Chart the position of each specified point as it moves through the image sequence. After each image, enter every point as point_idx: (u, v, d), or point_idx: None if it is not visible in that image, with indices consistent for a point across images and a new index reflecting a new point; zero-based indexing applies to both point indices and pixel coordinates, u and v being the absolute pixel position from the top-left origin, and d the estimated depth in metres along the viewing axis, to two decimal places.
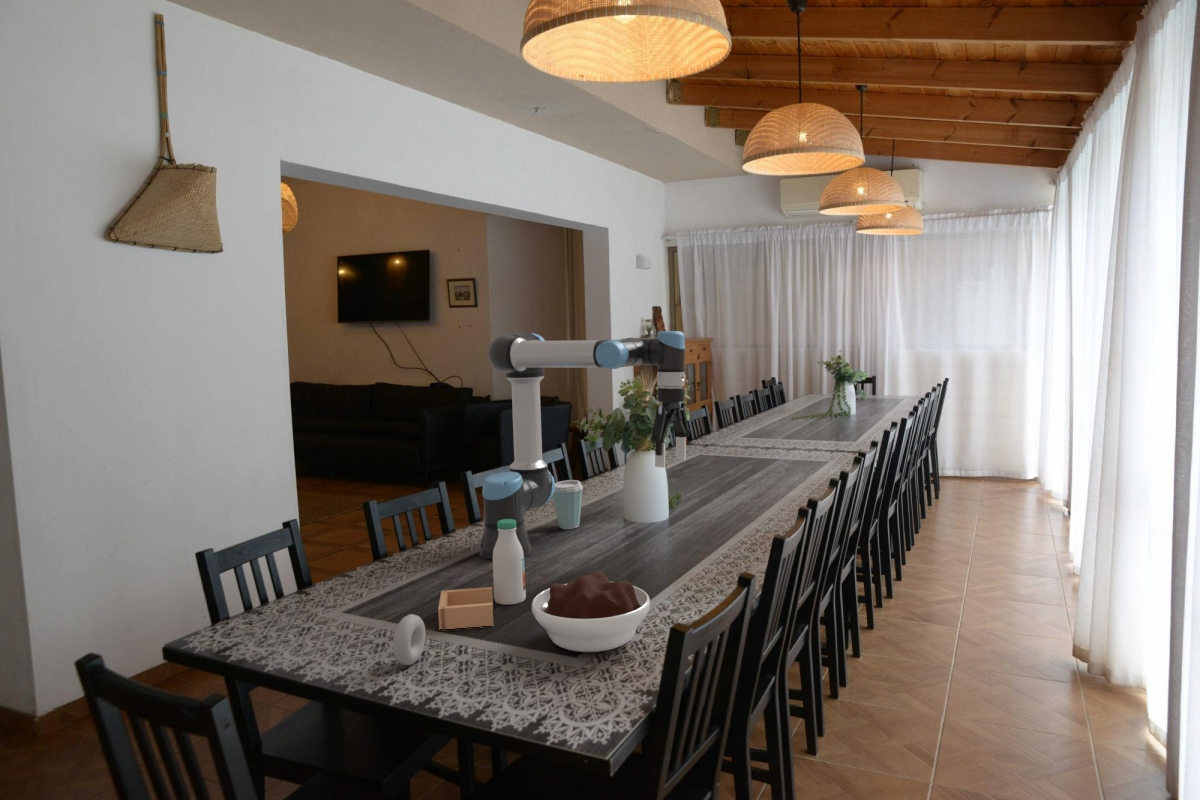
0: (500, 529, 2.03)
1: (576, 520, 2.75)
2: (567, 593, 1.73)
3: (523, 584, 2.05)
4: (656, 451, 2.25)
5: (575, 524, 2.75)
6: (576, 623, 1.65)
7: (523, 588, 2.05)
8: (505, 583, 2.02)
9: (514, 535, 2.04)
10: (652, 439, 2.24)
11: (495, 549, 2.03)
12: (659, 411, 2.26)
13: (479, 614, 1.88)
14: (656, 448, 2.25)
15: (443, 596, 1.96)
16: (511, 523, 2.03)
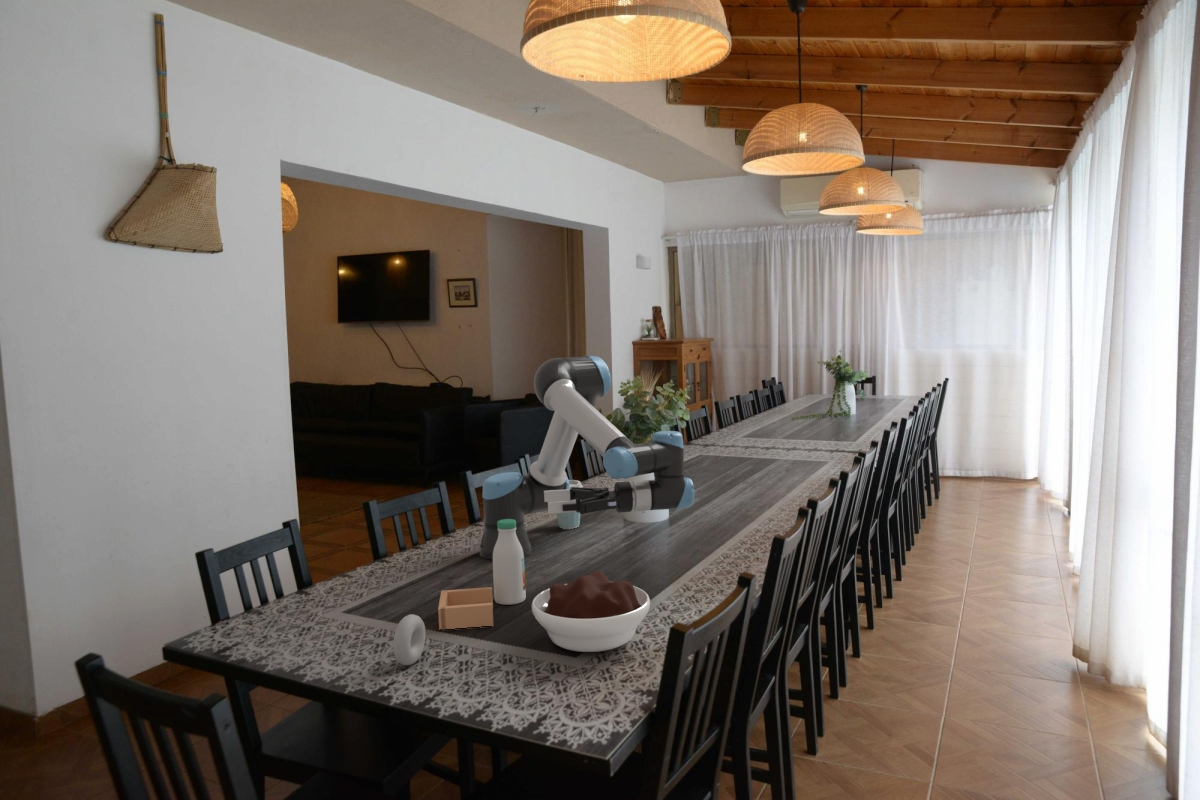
0: (500, 529, 2.03)
1: (576, 520, 2.75)
2: (567, 593, 1.73)
3: (523, 584, 2.05)
4: (567, 506, 1.98)
5: (575, 524, 2.75)
6: (576, 623, 1.65)
7: (523, 588, 2.05)
8: (505, 583, 2.02)
9: (514, 535, 2.04)
10: (582, 505, 1.96)
11: (495, 549, 2.03)
12: (611, 503, 2.01)
13: (479, 614, 1.88)
14: (570, 506, 1.98)
15: (443, 596, 1.96)
16: (511, 523, 2.03)
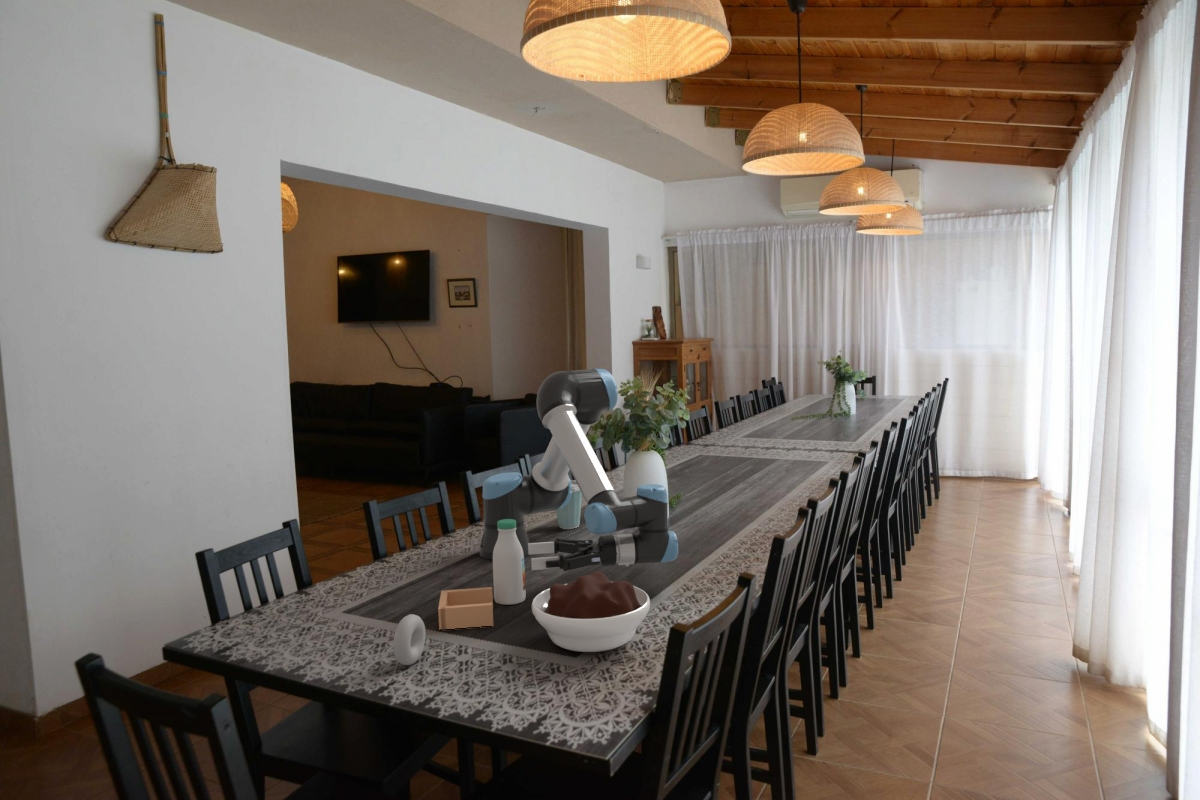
0: (500, 529, 2.03)
1: (576, 520, 2.75)
2: (567, 593, 1.73)
3: (523, 584, 2.05)
4: (550, 563, 1.98)
5: (575, 524, 2.75)
6: (576, 623, 1.65)
7: (523, 588, 2.05)
8: (505, 583, 2.02)
9: (514, 535, 2.04)
10: (565, 562, 1.97)
11: (495, 549, 2.03)
12: (594, 558, 2.01)
13: (479, 614, 1.88)
14: (554, 562, 1.98)
15: (443, 596, 1.96)
16: (511, 523, 2.03)
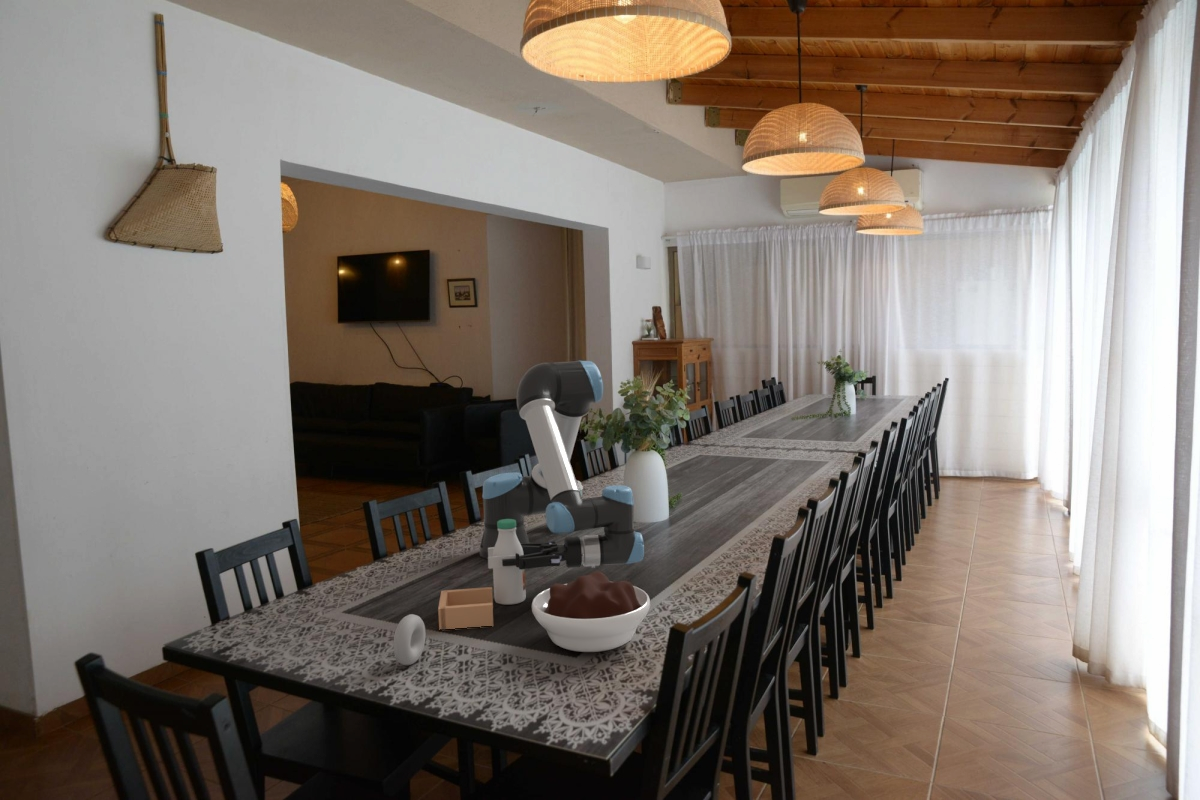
0: (500, 529, 2.03)
1: None
2: (567, 593, 1.73)
3: (523, 584, 2.05)
4: (506, 561, 2.00)
5: None
6: (576, 623, 1.65)
7: (523, 588, 2.05)
8: (505, 583, 2.02)
9: (514, 535, 2.04)
10: (521, 561, 1.98)
11: (495, 549, 2.03)
12: (553, 560, 2.00)
13: (479, 614, 1.88)
14: (510, 561, 2.00)
15: (443, 596, 1.96)
16: (511, 523, 2.03)
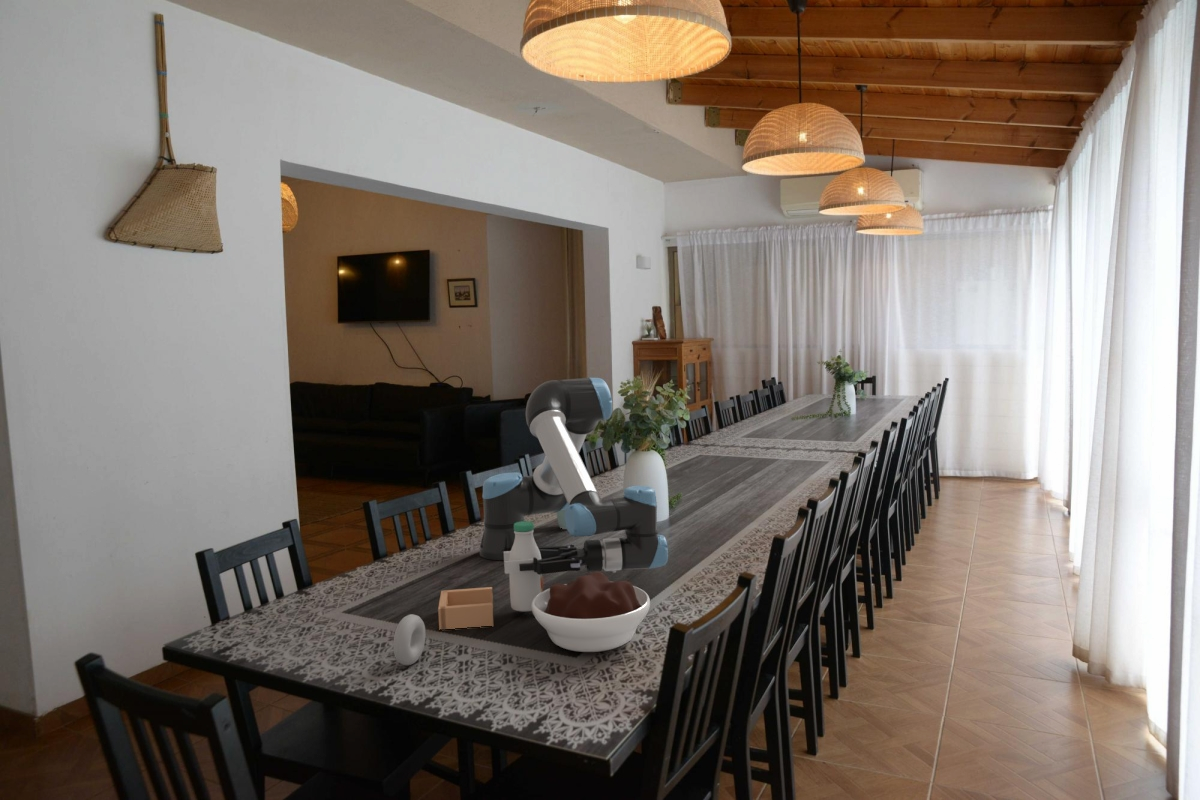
0: (517, 532, 1.93)
1: None
2: (567, 593, 1.73)
3: (541, 590, 1.94)
4: (524, 566, 1.90)
5: None
6: (576, 623, 1.65)
7: None
8: (522, 588, 1.92)
9: (531, 538, 1.94)
10: (539, 565, 1.88)
11: (511, 553, 1.93)
12: (573, 564, 1.90)
13: (479, 614, 1.88)
14: (527, 566, 1.90)
15: (443, 596, 1.96)
16: (528, 525, 1.93)
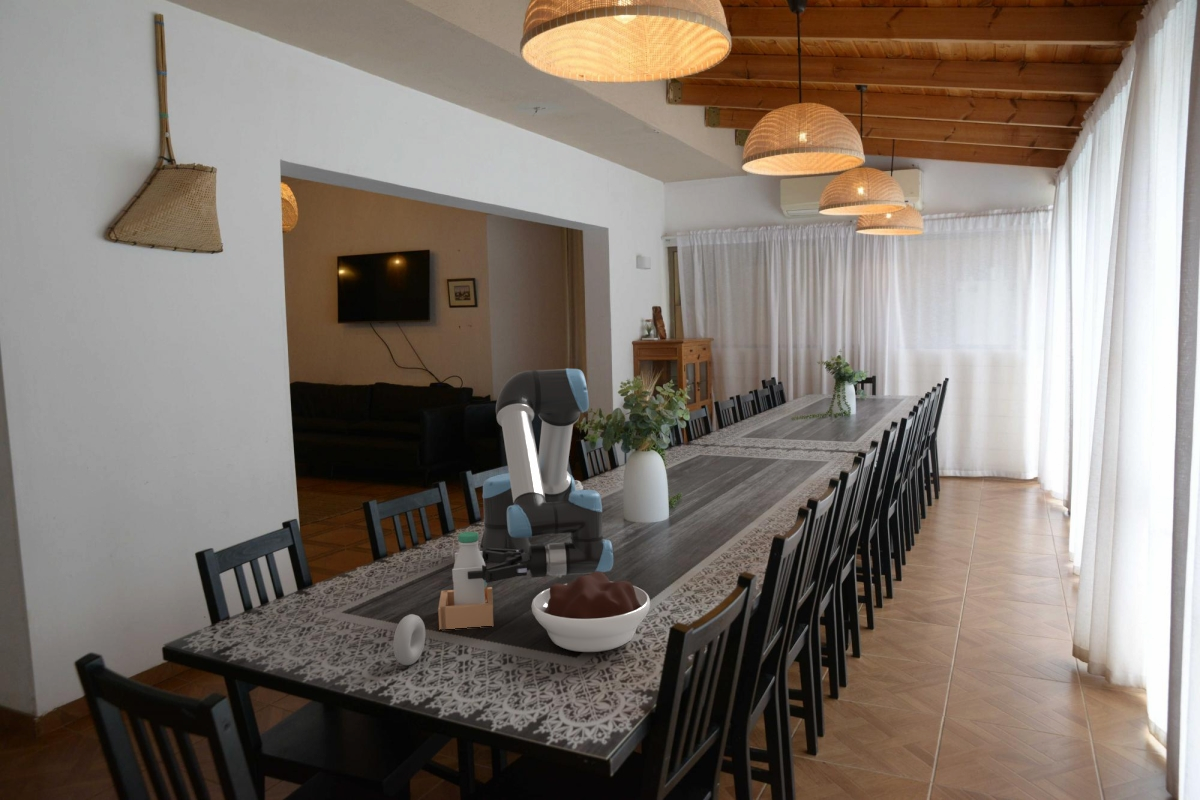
0: (461, 542, 1.92)
1: None
2: (567, 593, 1.73)
3: (485, 601, 1.93)
4: (472, 574, 1.86)
5: None
6: (576, 623, 1.65)
7: None
8: (465, 599, 1.91)
9: (476, 549, 1.92)
10: (488, 573, 1.84)
11: (455, 564, 1.92)
12: (521, 569, 1.88)
13: (479, 614, 1.88)
14: (476, 573, 1.86)
15: (443, 596, 1.96)
16: (472, 536, 1.91)
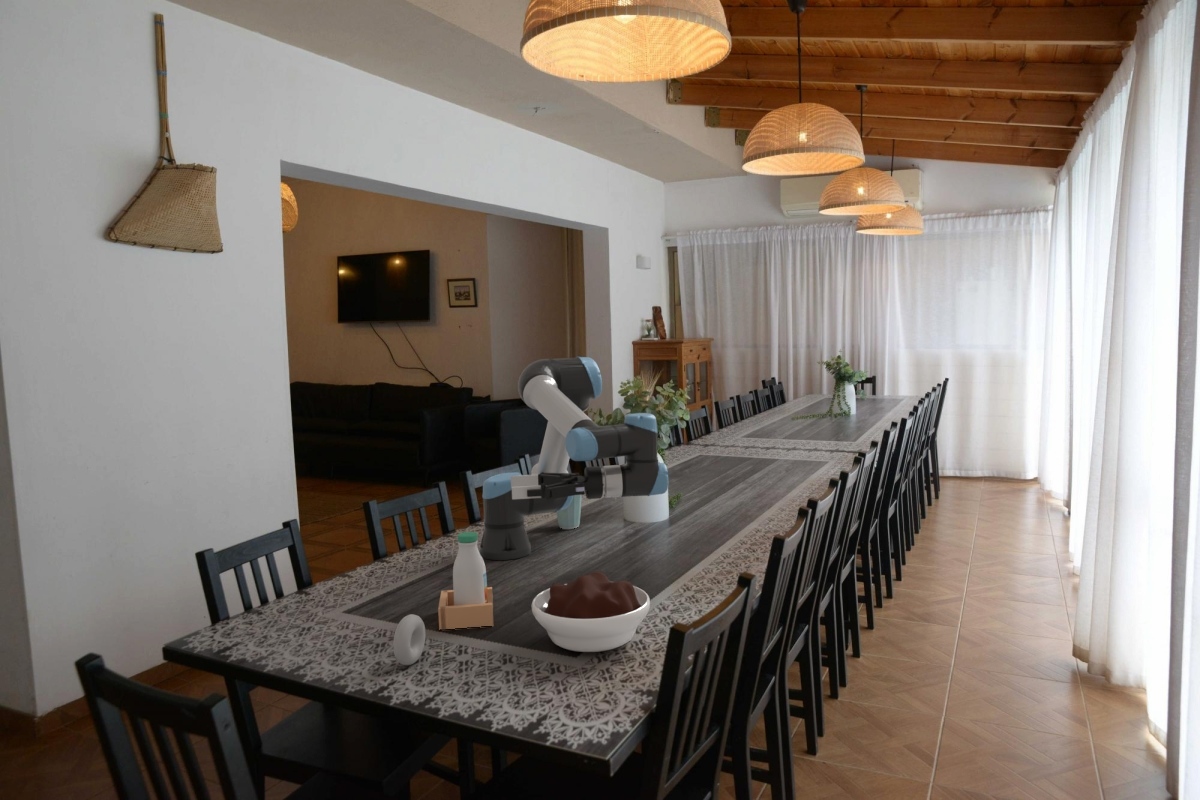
0: (460, 543, 1.91)
1: (576, 520, 2.75)
2: (567, 593, 1.73)
3: (485, 601, 1.93)
4: (531, 491, 1.87)
5: (575, 524, 2.75)
6: (576, 623, 1.65)
7: None
8: (465, 600, 1.91)
9: (475, 549, 1.92)
10: (547, 491, 1.85)
11: (455, 564, 1.92)
12: (579, 488, 1.90)
13: (479, 614, 1.88)
14: (535, 491, 1.87)
15: (443, 596, 1.96)
16: (472, 536, 1.91)
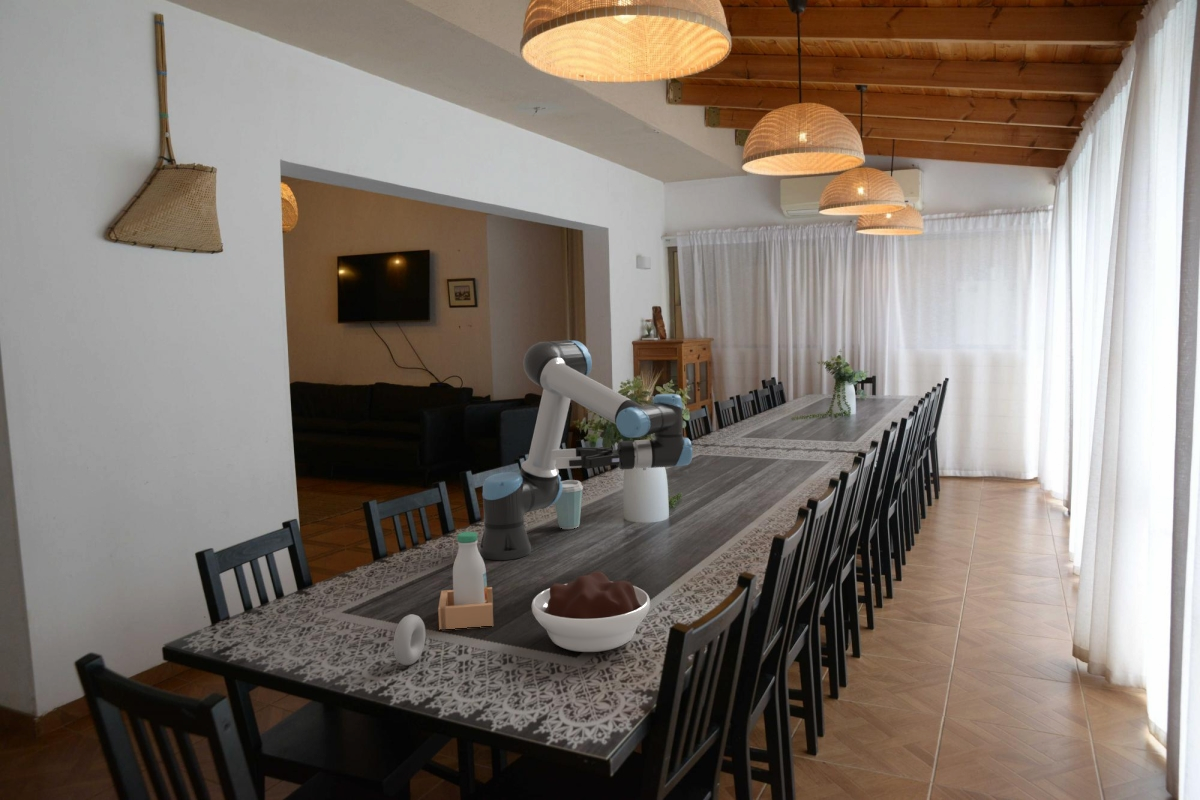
0: (460, 543, 1.92)
1: (576, 520, 2.75)
2: (567, 593, 1.73)
3: (485, 601, 1.93)
4: (573, 462, 2.12)
5: (575, 524, 2.75)
6: (576, 623, 1.65)
7: None
8: (465, 599, 1.91)
9: (475, 549, 1.92)
10: (587, 461, 2.11)
11: (455, 564, 1.92)
12: (614, 459, 2.15)
13: (479, 614, 1.88)
14: (576, 461, 2.12)
15: (443, 596, 1.96)
16: (472, 536, 1.91)
